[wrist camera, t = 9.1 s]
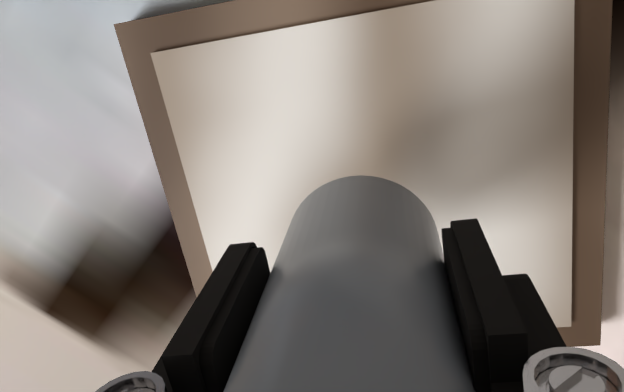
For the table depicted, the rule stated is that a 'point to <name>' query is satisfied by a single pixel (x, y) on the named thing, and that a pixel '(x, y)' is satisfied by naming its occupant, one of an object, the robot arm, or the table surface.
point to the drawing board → (388, 124)
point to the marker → (356, 300)
